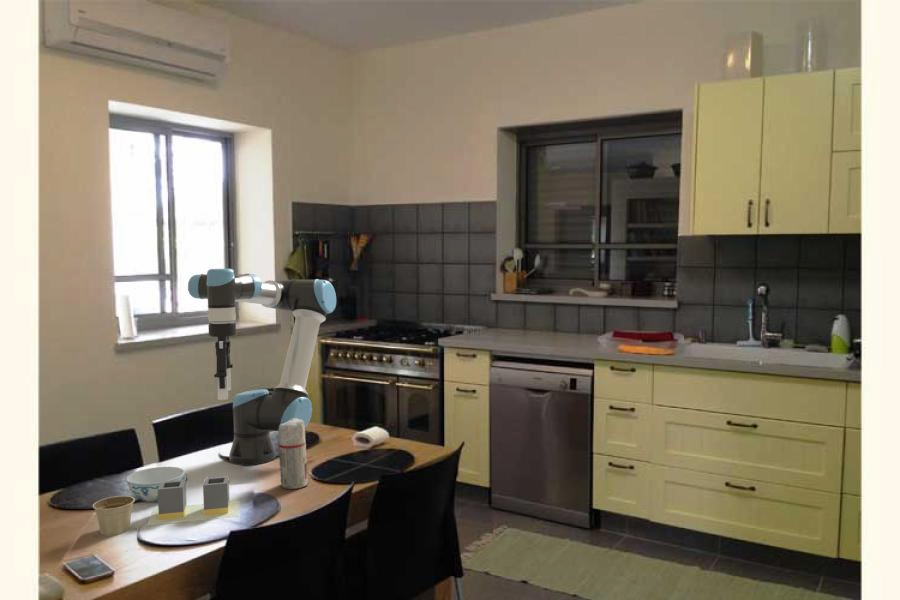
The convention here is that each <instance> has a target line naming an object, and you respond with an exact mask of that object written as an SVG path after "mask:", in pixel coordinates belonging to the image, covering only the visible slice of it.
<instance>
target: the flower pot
mask: <svg viewBox="0 0 900 600" xmlns="http://www.w3.org/2000/svg"><path fill="white" fill-rule="evenodd" d="M135 501H136V497H135V496H134V497H133V496H129V495H115V496H110V497H106V498H101V499H100V500H97V501H96V502H94V503H93V504H92V508H93V509H94V512H95V514H96V516H97V517H96V518H97V522H98V526H99V532H100V534H101V535H102V536H108V537H109V536H117V535H122V534H124V533H127V532H128V531H129V530H130V527H131V517H132V510H133V507H134V503H135Z"/></svg>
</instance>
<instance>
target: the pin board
mask: <svg viewBox="0 0 900 600" xmlns="http://www.w3.org/2000/svg"><path fill="white" fill-rule="evenodd" d="M240 503H241V500H230V506H229V512H228V513H224V514H214V515H204V503H199V504H197V503H196V504H189V505H188V504H186V505H187V510H186V513H185V515H184V518H174V519H164V520H159V509H158V508H157V507H156V508H153V511H152V513H151V515H150V517H149V519H148V521H147V524H146V526H147V527H148V526H156V525H164V524H165V525H166V524H175V523H176V524H177V523H187V522H195V521H197V522H198V521H205V520H206V521H207V520H215V519H217V520H218V519H226V518H236V517H237V518H238V515H239V509H240Z"/></svg>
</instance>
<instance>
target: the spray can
mask: <svg viewBox="0 0 900 600" xmlns="http://www.w3.org/2000/svg"><path fill="white" fill-rule="evenodd" d="M305 428H306V427H305V424H304V421H303V420H301V419H297V418H292V419H290V420H288V421H287V422H285V423H283V424H280V425H279V431H278V436H277V438H278V439H277V443H278V455H279V456H278V457H279V472H280V484H281V488H282V489H286V490H297V489H302V488H304V487H306V486H308V485H309V481H308V463H307V462H308V461H307V443H306V429H305Z"/></svg>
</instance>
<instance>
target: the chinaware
mask: <svg viewBox="0 0 900 600" xmlns="http://www.w3.org/2000/svg"><path fill="white" fill-rule="evenodd" d="M184 477H185V470H184V469H183V468H181V467H177V466H159V467H158V466H157V467H156V466H155V467H150V468H145V469H142V470H138V471H135V472H133V473H131V474H129V475H128V476H126V483H127V486H128V488H129V491H130V492H131V493H132V494H133V496H134V498H136V499H138V500H140V501H142V502H147V503H151V502H152V503H154V502H158V488H159V486H160V484H161V482H168V481H180V480H184Z"/></svg>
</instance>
